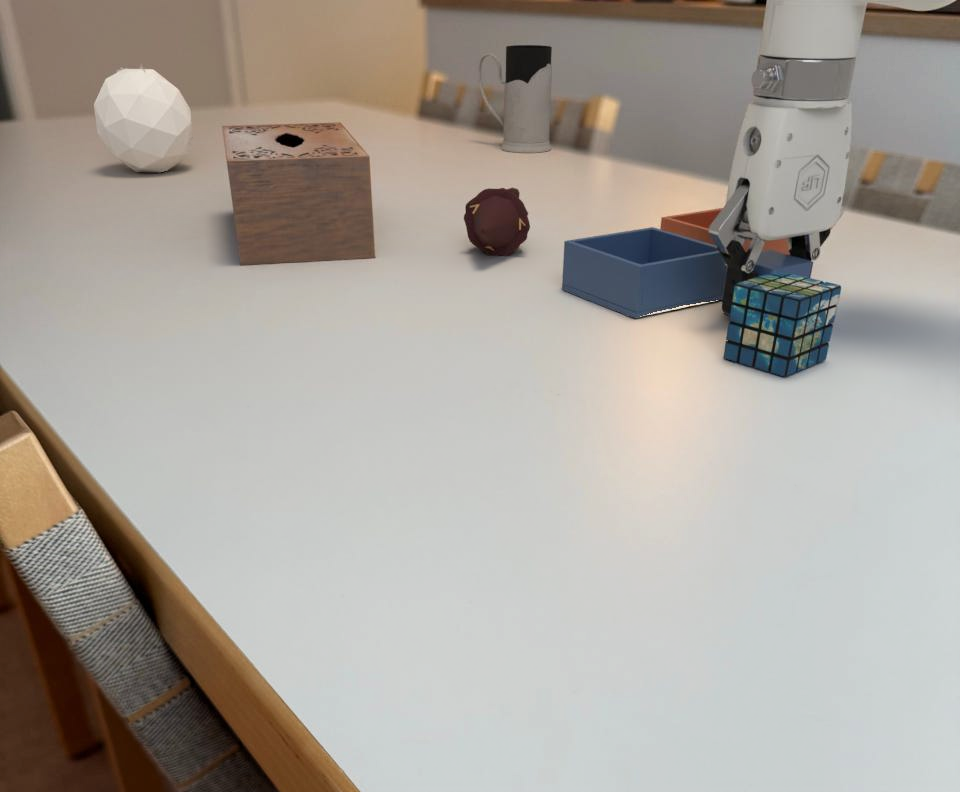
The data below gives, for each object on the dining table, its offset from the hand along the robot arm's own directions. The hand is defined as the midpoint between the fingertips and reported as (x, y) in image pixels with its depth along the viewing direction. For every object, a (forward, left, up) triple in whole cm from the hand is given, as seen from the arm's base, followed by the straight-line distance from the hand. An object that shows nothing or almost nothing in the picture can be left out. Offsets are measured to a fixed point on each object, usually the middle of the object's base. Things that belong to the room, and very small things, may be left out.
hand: (763, 306), depth 88 cm
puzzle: (+8, +9, -1) cm, 12 cm away
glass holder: (-35, -92, -1) cm, 98 cm away
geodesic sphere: (+25, -102, -1) cm, 105 cm away
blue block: (0, 0, -1) cm, 1 cm away
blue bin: (+5, -11, -1) cm, 12 cm away
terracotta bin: (-10, -14, -1) cm, 17 cm away
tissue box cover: (+23, -52, -1) cm, 57 cm away
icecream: (+8, -32, -1) cm, 33 cm away
